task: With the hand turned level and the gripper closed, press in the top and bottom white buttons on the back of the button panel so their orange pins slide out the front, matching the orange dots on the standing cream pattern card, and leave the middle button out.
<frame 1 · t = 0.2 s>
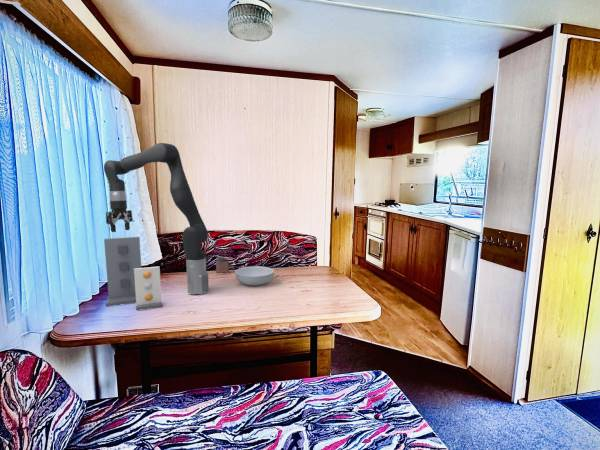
hand: (120, 231, 170), 29 cm above the table, tool pointing down, fingers open, 8 cm apart
button panel: (126, 299, 152), on the table
button bottom: (125, 281, 153), point 8 cm above the table, slide at 0.0 cm
serving bowl: (254, 283, 176), on the table
button middle: (124, 264, 152), point 16 cm above the table, slide at 0.0 cm
pattern card: (149, 306, 143), on the table
button top: (123, 247, 151), point 24 cm above the table, slide at 0.0 cm
lighter: (222, 273, 194), on the table
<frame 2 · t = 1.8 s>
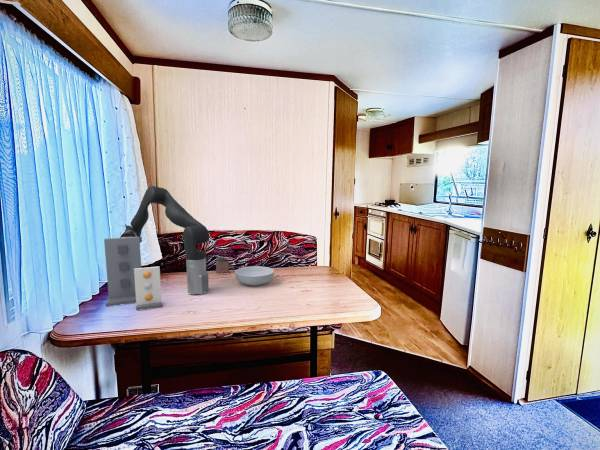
hand: (125, 243, 161), 24 cm above the table, tool horizontal, fingers open, 5 cm apart
nothing on the table moved.
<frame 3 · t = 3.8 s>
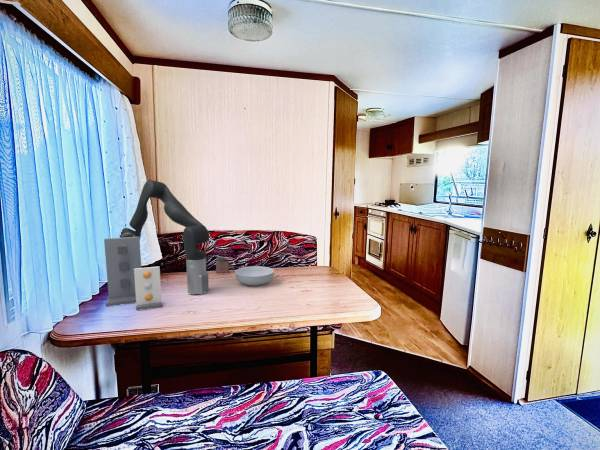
hand: (124, 246, 153), 24 cm above the table, tool horizontal, fingers closed
button top: (123, 248, 149), point 24 cm above the table, slide at 1.3 cm, touching gripper
everything else where it was.
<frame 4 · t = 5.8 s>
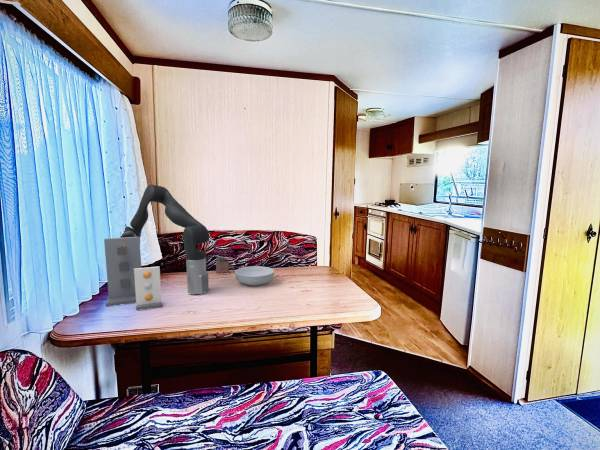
hand: (125, 245, 159), 24 cm above the table, tool horizontal, fingers closed
button top: (122, 249, 148), point 24 cm above the table, slide at 3.2 cm
everything else where it was.
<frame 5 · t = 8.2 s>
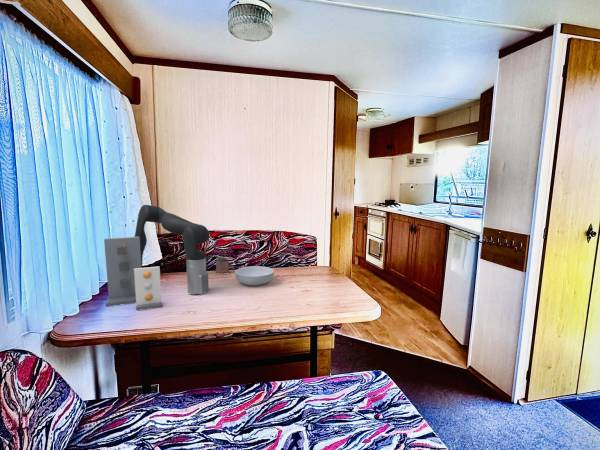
hand: (126, 279, 156), 8 cm above the table, tool horizontal, fingers closed
button bottom: (125, 281, 152), point 8 cm above the table, slide at 0.5 cm, touching gripper
everything else where it was.
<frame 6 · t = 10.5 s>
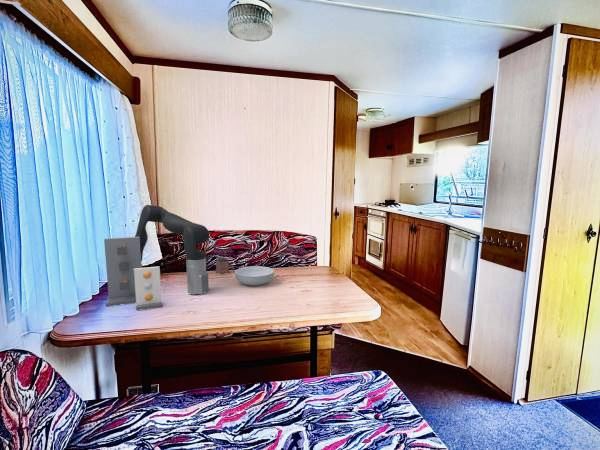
hand: (127, 271, 161), 10 cm above the table, tool horizontal, fingers closed
button bottom: (125, 283, 150), point 8 cm above the table, slide at 3.2 cm
everything else where it was.
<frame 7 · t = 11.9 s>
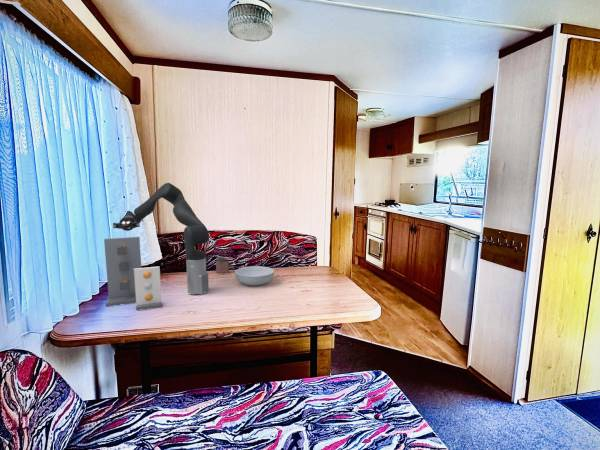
hand: (124, 227, 161), 32 cm above the table, tool horizontal, fingers closed
nothing on the table moved.
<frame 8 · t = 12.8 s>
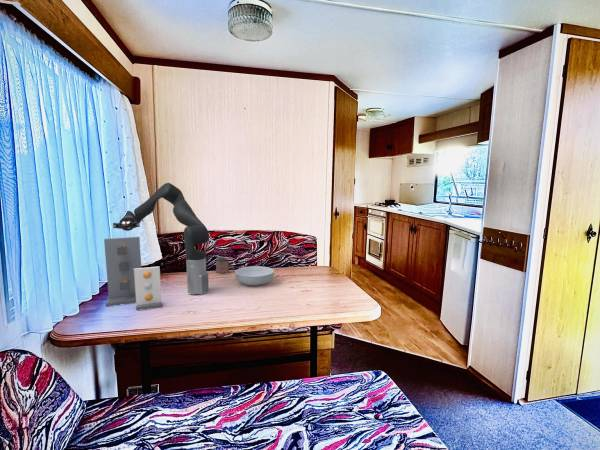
hand: (124, 227, 161), 32 cm above the table, tool horizontal, fingers closed
nothing on the table moved.
at the end: button top slide at 3.2 cm; button bottom slide at 3.2 cm; button middle slide at 0.0 cm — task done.
